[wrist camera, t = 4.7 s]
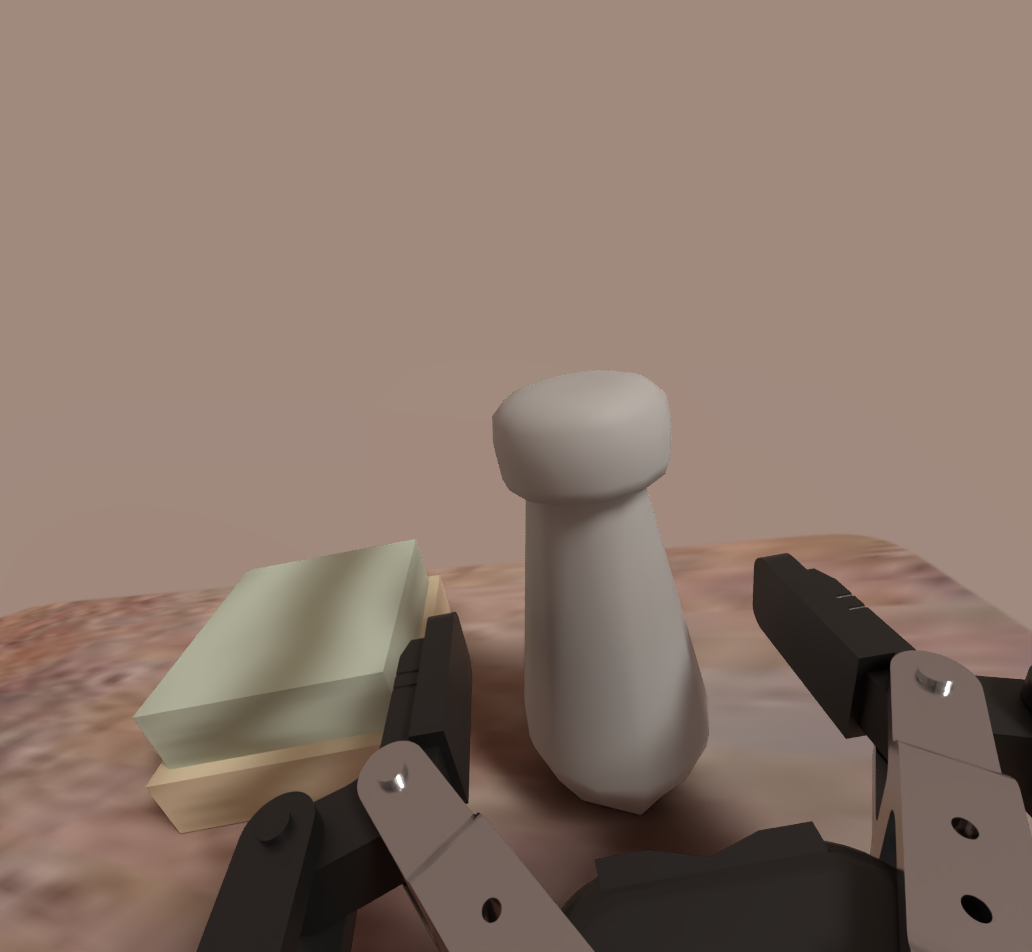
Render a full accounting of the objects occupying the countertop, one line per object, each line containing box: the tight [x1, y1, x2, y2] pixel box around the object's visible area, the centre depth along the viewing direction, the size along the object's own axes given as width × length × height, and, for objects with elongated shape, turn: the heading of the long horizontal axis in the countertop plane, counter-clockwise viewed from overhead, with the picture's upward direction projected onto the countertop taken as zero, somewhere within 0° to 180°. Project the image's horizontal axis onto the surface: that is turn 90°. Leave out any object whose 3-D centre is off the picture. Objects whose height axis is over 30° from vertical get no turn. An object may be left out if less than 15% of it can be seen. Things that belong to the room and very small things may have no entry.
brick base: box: [133, 539, 451, 833], centre depth 19 cm, size 9×9×5 cm
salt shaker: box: [492, 370, 709, 815], centre depth 14 cm, size 6×6×13 cm
